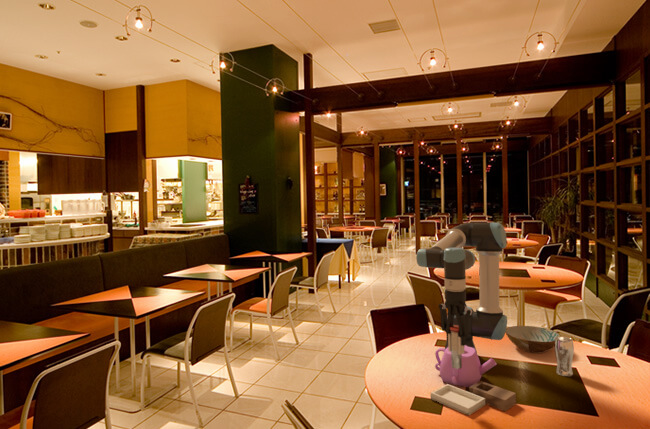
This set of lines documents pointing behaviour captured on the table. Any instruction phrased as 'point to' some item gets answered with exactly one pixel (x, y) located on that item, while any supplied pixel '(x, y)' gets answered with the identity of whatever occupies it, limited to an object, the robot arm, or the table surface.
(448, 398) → the tray
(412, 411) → the table surface
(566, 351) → the beer glass
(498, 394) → the block
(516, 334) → the bowl
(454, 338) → the red capped grey tube
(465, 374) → the teapot
